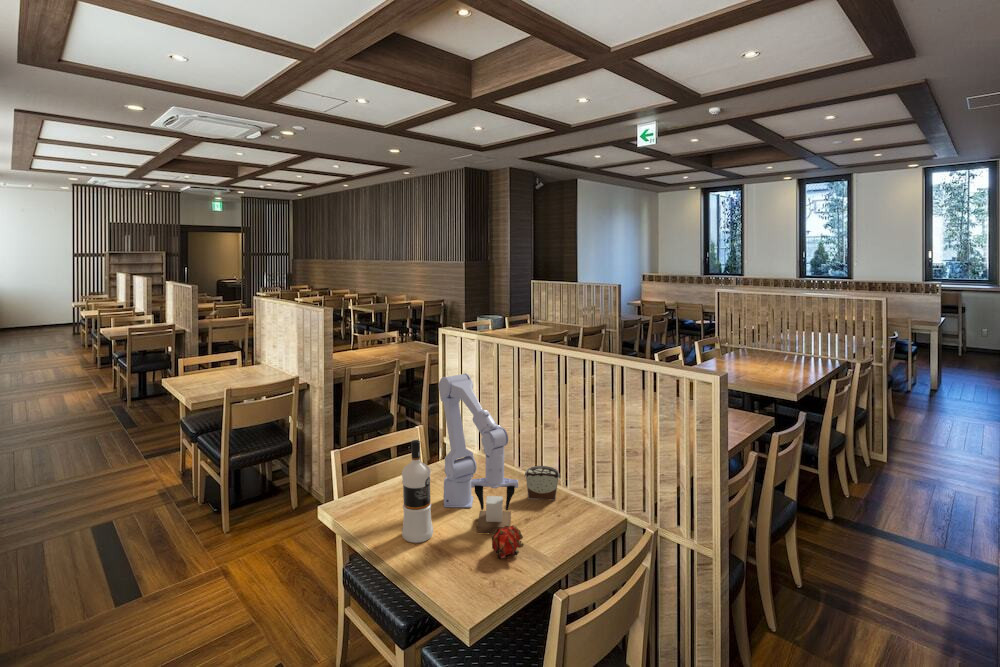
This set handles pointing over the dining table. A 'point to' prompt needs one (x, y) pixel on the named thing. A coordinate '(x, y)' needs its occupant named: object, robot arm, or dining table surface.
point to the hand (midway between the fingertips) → (494, 508)
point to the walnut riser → (492, 523)
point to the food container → (542, 482)
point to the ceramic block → (494, 508)
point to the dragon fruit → (507, 541)
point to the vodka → (416, 498)
